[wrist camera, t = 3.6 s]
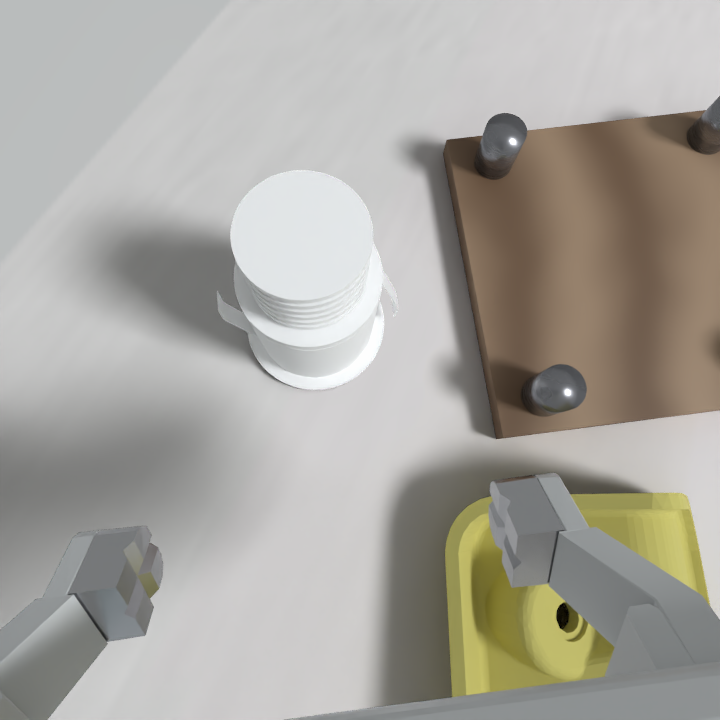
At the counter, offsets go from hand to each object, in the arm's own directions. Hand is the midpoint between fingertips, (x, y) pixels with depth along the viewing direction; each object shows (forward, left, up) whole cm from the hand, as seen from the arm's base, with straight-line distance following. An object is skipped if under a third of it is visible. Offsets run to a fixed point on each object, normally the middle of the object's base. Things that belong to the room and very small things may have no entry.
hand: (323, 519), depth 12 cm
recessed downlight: (0, +9, -12) cm, 15 cm away
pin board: (+16, +10, -12) cm, 22 cm away
